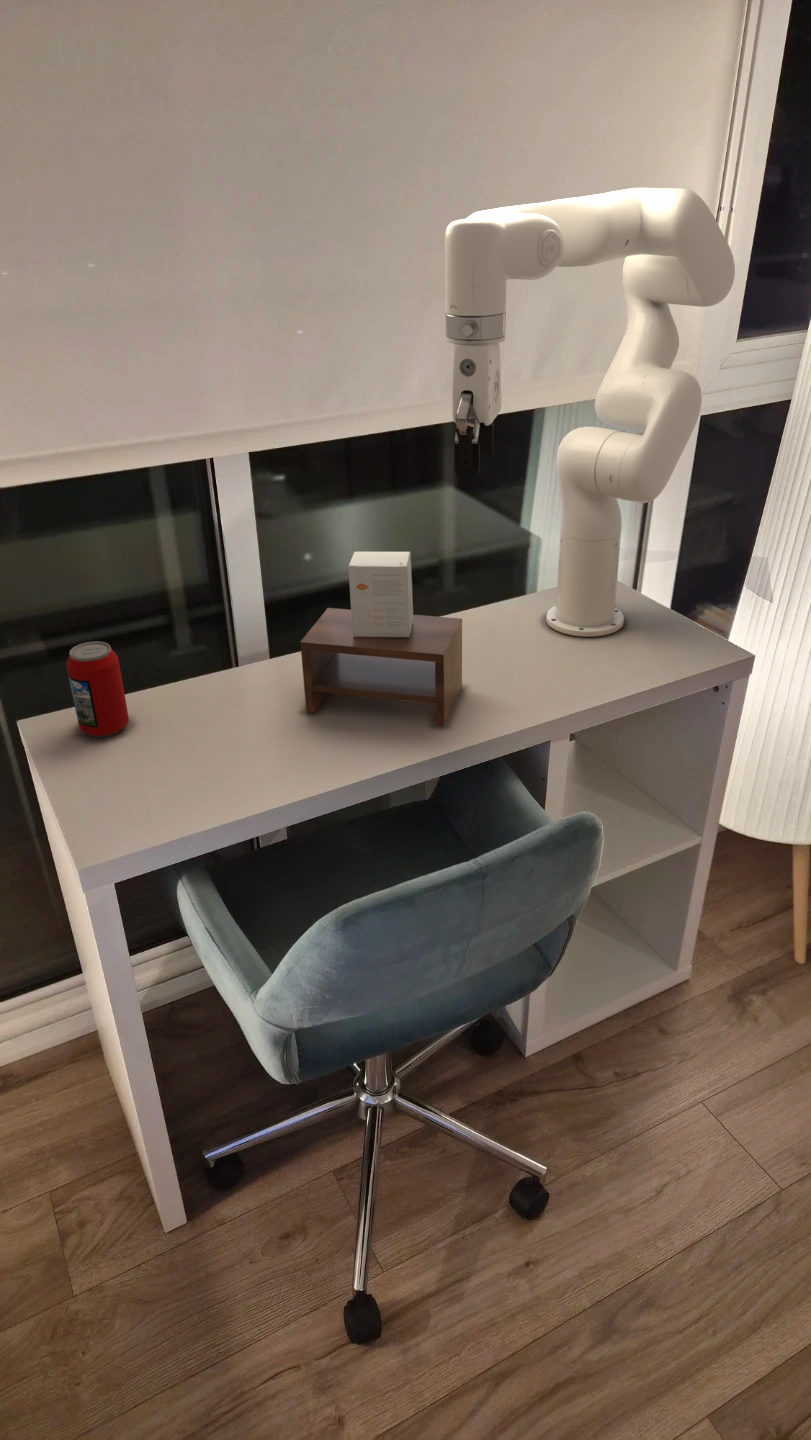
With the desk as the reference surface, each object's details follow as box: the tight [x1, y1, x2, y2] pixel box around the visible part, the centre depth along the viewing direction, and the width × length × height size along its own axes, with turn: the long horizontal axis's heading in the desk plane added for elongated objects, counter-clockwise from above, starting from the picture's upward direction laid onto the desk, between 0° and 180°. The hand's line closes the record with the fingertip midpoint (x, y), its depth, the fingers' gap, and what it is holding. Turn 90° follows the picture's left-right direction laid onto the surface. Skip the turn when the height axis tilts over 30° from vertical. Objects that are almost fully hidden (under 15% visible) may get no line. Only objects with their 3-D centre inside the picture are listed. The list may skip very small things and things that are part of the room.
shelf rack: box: [300, 607, 463, 728], centre depth 146 cm, size 12×20×11 cm, turn 76°
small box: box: [347, 551, 414, 637], centre depth 141 cm, size 8×6×10 cm
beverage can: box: [65, 640, 130, 738], centre depth 141 cm, size 7×7×12 cm
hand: (474, 463), depth 138 cm, fingers open, 9 cm apart
